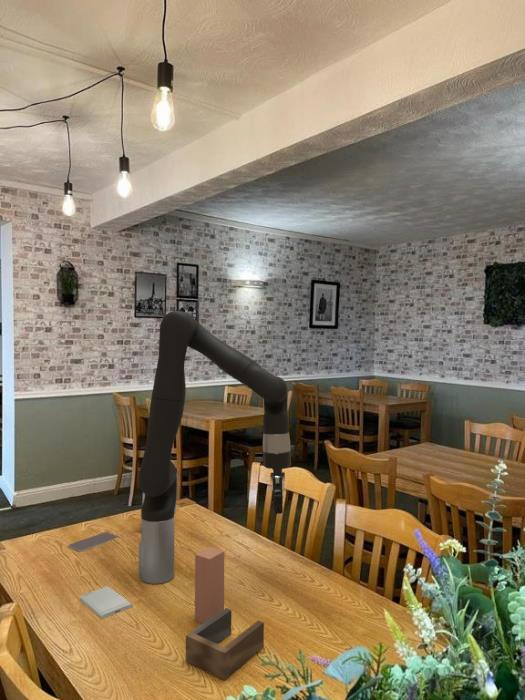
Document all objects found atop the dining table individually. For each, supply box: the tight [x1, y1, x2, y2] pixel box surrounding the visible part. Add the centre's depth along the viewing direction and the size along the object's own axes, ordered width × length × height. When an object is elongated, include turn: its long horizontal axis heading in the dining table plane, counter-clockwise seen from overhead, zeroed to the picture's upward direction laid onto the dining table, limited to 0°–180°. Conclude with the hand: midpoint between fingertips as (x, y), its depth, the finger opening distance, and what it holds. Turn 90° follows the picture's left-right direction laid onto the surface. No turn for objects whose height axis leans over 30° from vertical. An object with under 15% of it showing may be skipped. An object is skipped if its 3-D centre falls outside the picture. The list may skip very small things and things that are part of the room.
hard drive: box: [79, 586, 133, 620], centre depth 132 cm, size 2×8×12 cm
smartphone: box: [67, 531, 119, 553], centre depth 171 cm, size 7×1×15 cm
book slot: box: [185, 607, 265, 681], centre depth 111 cm, size 10×14×6 cm
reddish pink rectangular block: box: [194, 546, 225, 625], centre depth 125 cm, size 4×6×16 cm
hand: (278, 508), depth 142 cm, fingers open, 8 cm apart
